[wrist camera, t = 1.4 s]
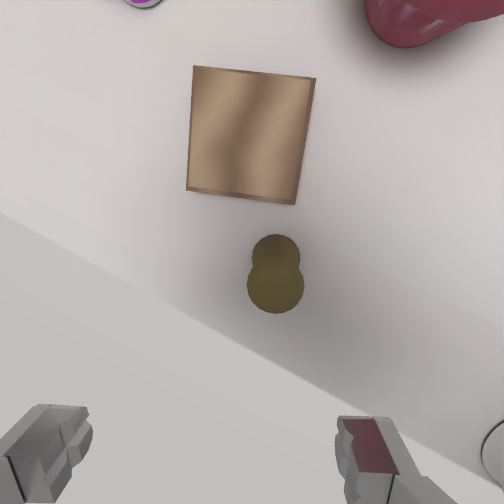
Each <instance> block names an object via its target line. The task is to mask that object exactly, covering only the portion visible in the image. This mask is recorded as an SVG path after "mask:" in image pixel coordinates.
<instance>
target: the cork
mask: <svg viewBox="0 0 504 504" xmlns="http://www.w3.org/2000/svg"><path fill="white" fill-rule="evenodd" d="M252 260H253V268H252V270H251V272H250V274H249V276H248V281H247V289H248V294H249V296H250V298H251V300H252V302H253V303H254V304H255V305H256V306H257V307H258V308H259V309H261V310H263V311H266V312H269V313H275V314H276V313H284V312H286V311H288V310H291V309H292V308H293V307H295V306H296V305H297V304H298V302H299V301H300V299H301V297H302V295H303V291H304V280H303V276H302V274H301V272H300V270H299V268H298V267H299V261H300V254H299V249H298V248H297V246H296V244H295V243H294V242H293V241H292V240H291V239H290V238H288V237H286V236H284V235H278V234H274V235H268V236H266V237H264V238H262V239H261V240H260V241H259V242H258V243H257V244H256V246H255V248H254V250H253V255H252Z"/></svg>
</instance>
